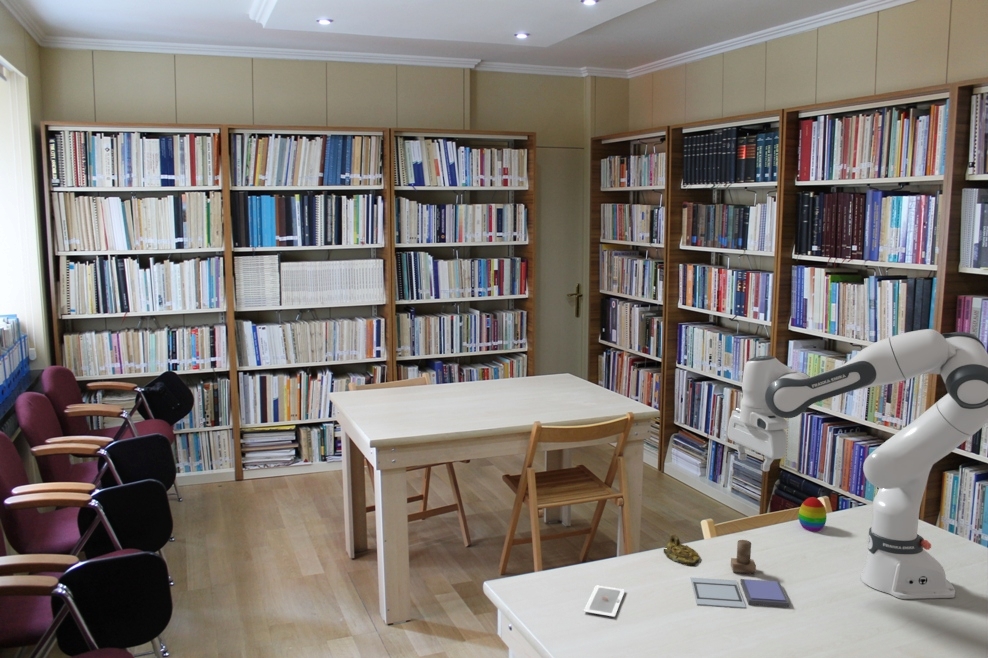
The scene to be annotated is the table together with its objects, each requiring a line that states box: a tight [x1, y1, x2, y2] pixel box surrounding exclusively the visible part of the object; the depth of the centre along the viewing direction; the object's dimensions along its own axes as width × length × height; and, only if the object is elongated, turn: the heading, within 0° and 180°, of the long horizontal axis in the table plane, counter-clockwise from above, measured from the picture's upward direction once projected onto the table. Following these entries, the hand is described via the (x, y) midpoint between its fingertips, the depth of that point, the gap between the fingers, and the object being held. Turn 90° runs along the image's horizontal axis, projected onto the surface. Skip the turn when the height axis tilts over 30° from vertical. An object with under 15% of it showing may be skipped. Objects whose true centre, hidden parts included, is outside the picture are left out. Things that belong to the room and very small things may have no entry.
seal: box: [663, 533, 701, 567], centre depth 233 cm, size 9×5×15 cm
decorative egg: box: [798, 496, 827, 532], centre depth 253 cm, size 8×8×10 cm
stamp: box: [730, 539, 757, 575], centre depth 223 cm, size 6×4×8 cm, turn 82°
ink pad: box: [739, 578, 790, 608], centre depth 209 cm, size 10×12×2 cm
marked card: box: [690, 576, 747, 609], centre depth 210 cm, size 12×15×1 cm
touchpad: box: [583, 584, 626, 618], centre depth 205 cm, size 8×15×2 cm, turn 161°
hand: (753, 465), depth 217 cm, fingers open, 8 cm apart
